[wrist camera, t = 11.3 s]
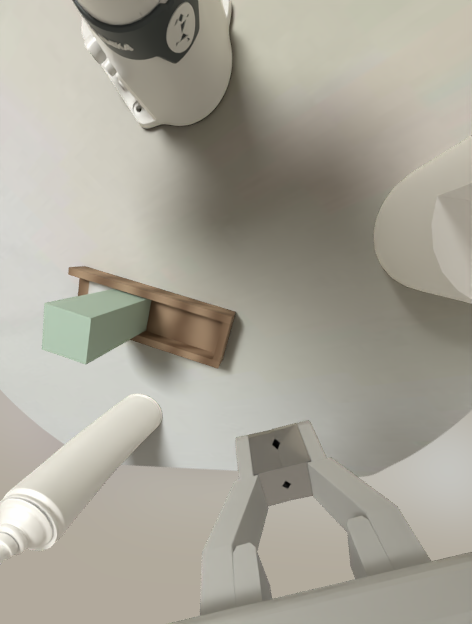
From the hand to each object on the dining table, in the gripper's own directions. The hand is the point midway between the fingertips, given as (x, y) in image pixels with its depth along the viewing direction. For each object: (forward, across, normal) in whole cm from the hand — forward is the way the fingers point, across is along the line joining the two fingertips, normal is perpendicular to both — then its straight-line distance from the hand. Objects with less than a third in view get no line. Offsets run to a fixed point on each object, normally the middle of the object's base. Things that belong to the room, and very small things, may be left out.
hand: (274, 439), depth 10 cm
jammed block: (+34, +18, +3) cm, 38 cm away
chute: (+34, +15, +5) cm, 38 cm away
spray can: (+32, +26, +24) cm, 48 cm away
